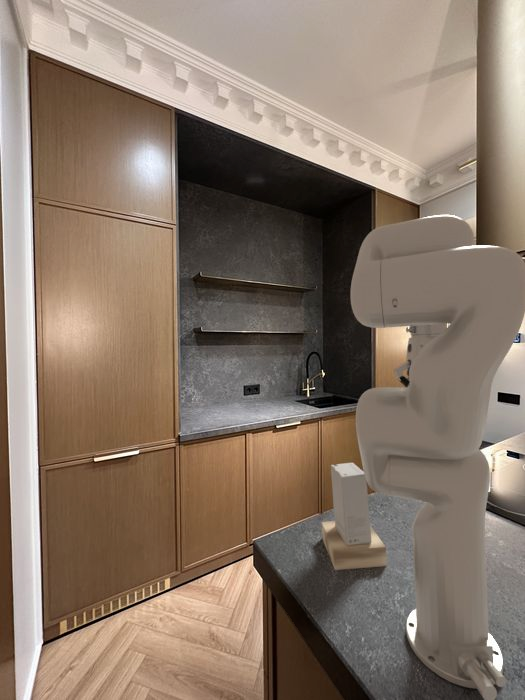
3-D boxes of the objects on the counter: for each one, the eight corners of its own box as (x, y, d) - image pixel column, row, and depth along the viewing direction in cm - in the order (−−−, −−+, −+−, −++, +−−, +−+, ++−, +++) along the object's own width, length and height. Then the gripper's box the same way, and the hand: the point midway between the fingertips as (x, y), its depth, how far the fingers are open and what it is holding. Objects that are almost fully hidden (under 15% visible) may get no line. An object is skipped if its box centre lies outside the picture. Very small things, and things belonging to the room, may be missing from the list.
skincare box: (372, 544, 67) (369, 474, 67) (344, 546, 66) (341, 476, 66) (356, 522, 75) (354, 461, 75) (332, 525, 75) (329, 462, 75)
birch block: (386, 566, 66) (385, 547, 66) (334, 570, 65) (334, 550, 65) (366, 535, 77) (365, 518, 77) (322, 538, 76) (321, 521, 76)
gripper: (400, 331, 70) (404, 407, 70) (474, 328, 71) (478, 403, 71) (386, 333, 78) (388, 401, 78) (453, 330, 79) (456, 398, 79)
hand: (431, 402), depth 74 cm, fingers open, 9 cm apart
